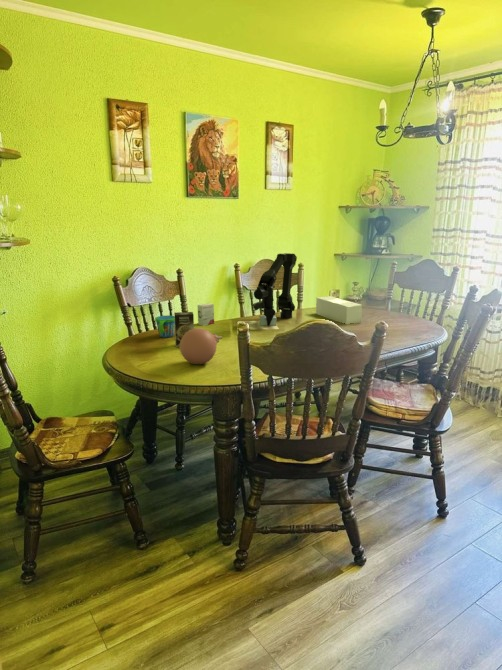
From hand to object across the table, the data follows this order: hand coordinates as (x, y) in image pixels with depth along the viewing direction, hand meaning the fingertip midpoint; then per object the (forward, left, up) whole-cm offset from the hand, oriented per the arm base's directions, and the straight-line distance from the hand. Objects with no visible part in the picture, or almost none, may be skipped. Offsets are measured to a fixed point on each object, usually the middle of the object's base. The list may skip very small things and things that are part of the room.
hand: (267, 324), depth 252 cm
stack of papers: (-45, -20, -2) cm, 49 cm away
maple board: (+6, 0, -2) cm, 6 cm away
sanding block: (0, 0, 0) cm, 0 cm away
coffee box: (+44, +32, -2) cm, 54 cm away
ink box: (+35, -11, -2) cm, 37 cm away
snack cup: (+55, +14, -2) cm, 57 cm away
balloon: (+34, +59, -2) cm, 68 cm away
